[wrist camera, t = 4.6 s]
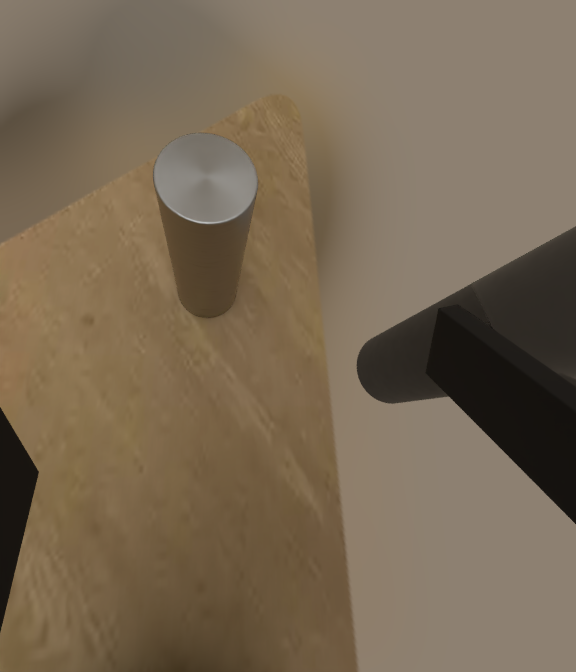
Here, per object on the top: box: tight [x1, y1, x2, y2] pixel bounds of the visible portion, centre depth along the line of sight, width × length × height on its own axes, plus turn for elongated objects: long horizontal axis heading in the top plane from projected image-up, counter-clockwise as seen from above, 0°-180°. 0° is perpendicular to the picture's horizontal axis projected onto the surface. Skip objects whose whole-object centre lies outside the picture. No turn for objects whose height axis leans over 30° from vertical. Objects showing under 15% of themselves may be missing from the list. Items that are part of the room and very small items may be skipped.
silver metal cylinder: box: [153, 133, 258, 318], centre depth 20 cm, size 4×4×12 cm
